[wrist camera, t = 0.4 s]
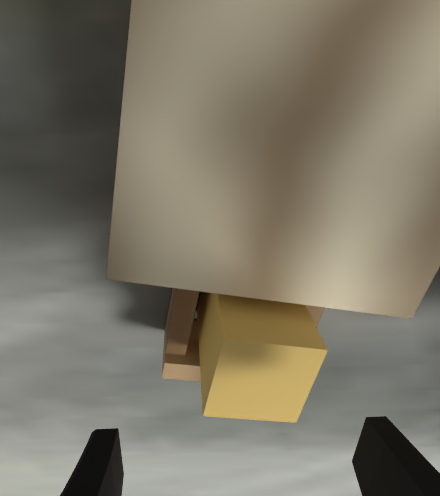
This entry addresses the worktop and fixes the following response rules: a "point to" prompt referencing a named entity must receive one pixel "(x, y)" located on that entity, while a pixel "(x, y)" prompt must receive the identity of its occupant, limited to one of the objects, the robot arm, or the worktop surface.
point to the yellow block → (256, 357)
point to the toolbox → (191, 336)
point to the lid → (281, 151)
